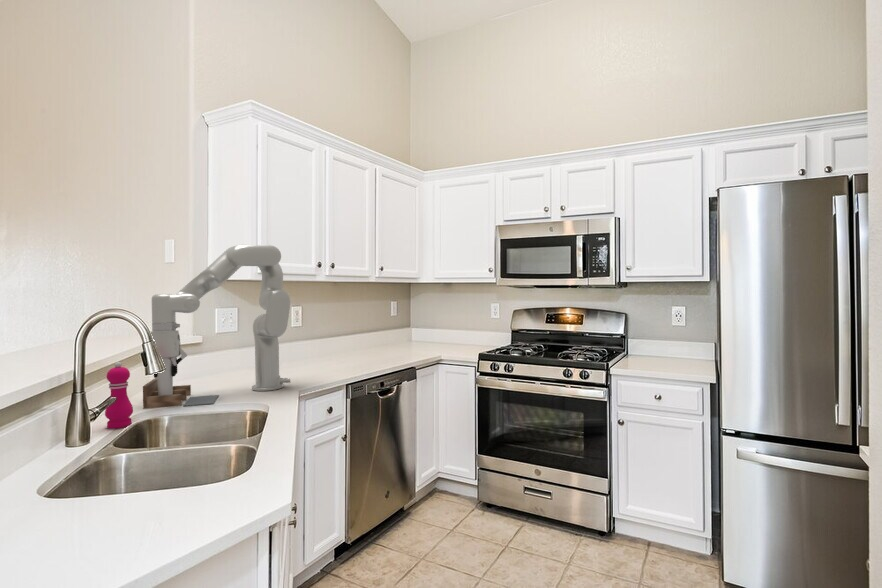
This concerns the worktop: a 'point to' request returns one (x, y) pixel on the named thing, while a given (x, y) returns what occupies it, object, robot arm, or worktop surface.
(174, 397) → the lane rack
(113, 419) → the pepper mill
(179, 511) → the worktop surface
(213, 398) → the rubber mat
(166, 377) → the bottle
